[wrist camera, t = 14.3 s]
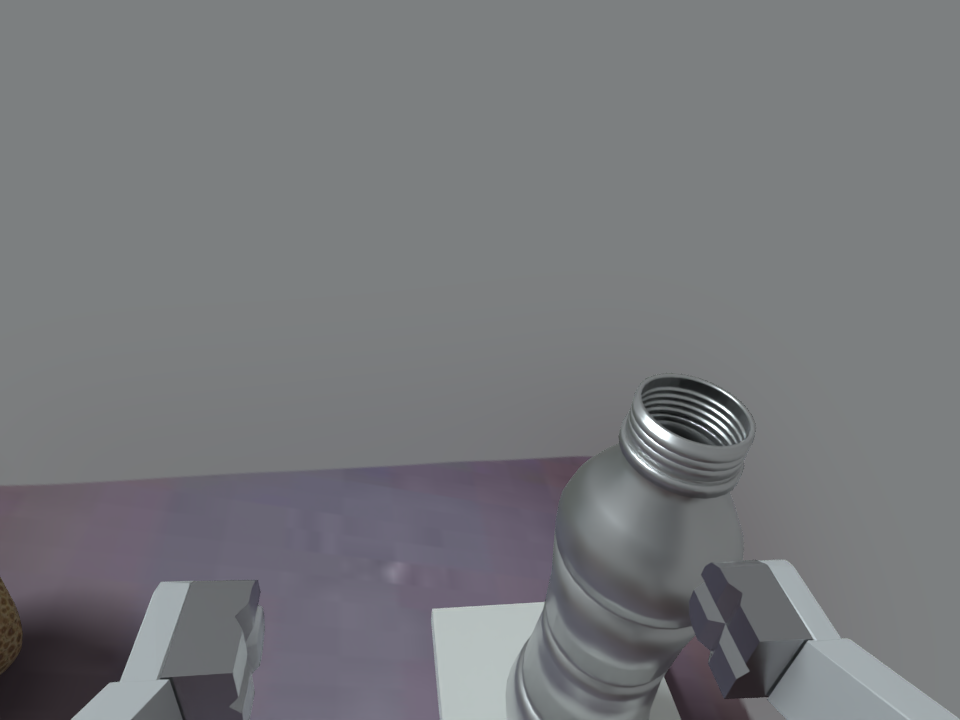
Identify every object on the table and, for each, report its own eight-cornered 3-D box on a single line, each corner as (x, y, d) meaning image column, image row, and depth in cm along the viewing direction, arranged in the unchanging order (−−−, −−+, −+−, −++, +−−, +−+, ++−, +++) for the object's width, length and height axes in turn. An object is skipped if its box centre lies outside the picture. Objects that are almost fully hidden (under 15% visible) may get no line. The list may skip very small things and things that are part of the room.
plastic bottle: (605, 659, 32) (736, 349, 21) (651, 805, 27) (861, 488, 16) (488, 667, 31) (564, 344, 20) (511, 822, 26) (633, 492, 15)
